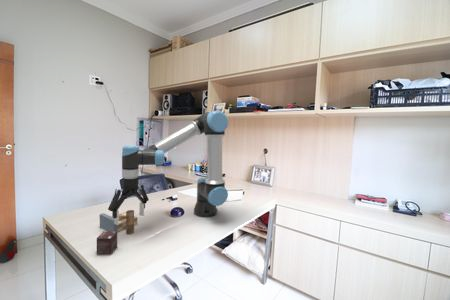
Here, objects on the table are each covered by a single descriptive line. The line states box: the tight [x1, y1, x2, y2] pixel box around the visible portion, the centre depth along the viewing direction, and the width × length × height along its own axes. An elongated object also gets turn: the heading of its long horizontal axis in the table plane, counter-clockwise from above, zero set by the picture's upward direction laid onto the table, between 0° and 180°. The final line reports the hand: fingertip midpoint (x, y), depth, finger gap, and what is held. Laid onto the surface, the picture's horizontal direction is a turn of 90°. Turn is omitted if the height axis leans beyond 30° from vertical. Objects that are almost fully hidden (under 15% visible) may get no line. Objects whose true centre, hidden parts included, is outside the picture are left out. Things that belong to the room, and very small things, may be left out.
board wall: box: [99, 213, 119, 234], centre depth 115 cm, size 15×28×8 cm, turn 148°
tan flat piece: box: [118, 211, 138, 233], centre depth 111 cm, size 12×12×4 cm
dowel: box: [125, 209, 135, 235], centre depth 104 cm, size 4×4×12 cm
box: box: [96, 230, 118, 256], centre depth 89 cm, size 6×6×7 cm
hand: (129, 219), depth 103 cm, fingers open, 13 cm apart
